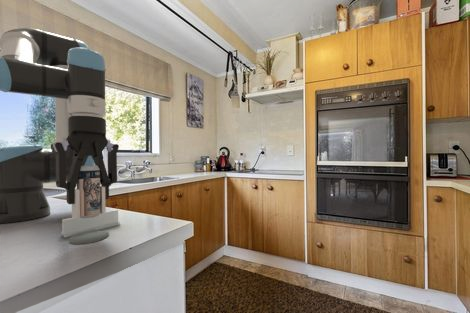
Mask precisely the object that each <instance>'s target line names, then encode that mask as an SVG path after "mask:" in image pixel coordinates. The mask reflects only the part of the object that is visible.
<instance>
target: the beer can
mask: <svg viewBox="0 0 470 313" xmlns="http://www.w3.org/2000/svg"><path fill="white" fill-rule="evenodd" d="M100 186H101V184H100V169H99V167H98V165H95V164H94V165H91V166H81V169H80V173H79V176H78V180H77V184H76V189H79V190H80V218H92V217H96V216H98V215H99V214H100V213H101V200H100Z"/></svg>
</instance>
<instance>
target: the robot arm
mask: <svg viewBox="0 0 470 313" xmlns="http://www.w3.org/2000/svg"><path fill="white" fill-rule="evenodd" d="M106 71H107V69H106V65H105V58H104V56H103V55H102V54H101V53H100V52H98V51H96V50H94V49H91V48H89V46H88V44H86V43H85V42H84V41H81V40H78V39H75V38H70V37H66V36H64V35H63V36H62V35H59V34H55V33H51V32H48V31H44V30H40V29H36V28H31V27H29V28H28V27H21V28H20V27H19V28H14V29H10V30H8V31H5V32H3V34H2V35H1V36H0V91H1V92H2V93H12V94H13V93H15V94H23V95H30V96H40V97H48V98H54V105H55V106H54V111H55V113H54V114H55V115H54V116H55V140H54V141H52V142H51V143H50V148H44V146H43V145H42V144H26V145H17V146H16V145H15V146H7V147H1V148H0V224H6V223H7V224H9V223H17V222H24V221H29V220H34V219H38V218H43V217H46V216H48V215H51V206H50V204H49V202H48V198H47V196H46V195H45V193H44V192H45V191H44V184H51V183H55V187H57V188H62V189H65V191H66V203H67V205H71V218H75V219H79V218H80V190H79V189H77V180H78V176H79V173H80V169H81V166H91V165H98V167H99V169H100V200H101V214H106V211H107V209H106V202H107V201H106V200H108V199H110V187H111V186H112V184H116V183H117V182H118V162H117V160H118V156H117V154H118V150H119V147H120V145H119V144H118V143H115V144H114V143H112V142H109V141H108V139H107V138H108V137H107V121H106V119H105V117H106V116H107V114H106V111H107V110H106ZM105 148H106V151H107V168H106V165H105V161H104V155H103V151H104V149H105Z"/></svg>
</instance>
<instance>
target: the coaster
mask: <svg viewBox="0 0 470 313" xmlns="http://www.w3.org/2000/svg"><path fill="white" fill-rule="evenodd" d="M108 237H109V232H108V231H107V230H95V231H90V232H85V233H81V234H77V235H74V236H70V237H69V238H68V243H70V244H71V245H72V244H73V245H85V244H92V243H95V242H98V241H103V240H105V239H106V238H108Z"/></svg>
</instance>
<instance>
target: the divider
mask: <svg viewBox="0 0 470 313" xmlns="http://www.w3.org/2000/svg"><path fill="white" fill-rule="evenodd" d="M119 225H121V223H120V222H119V210H118V209H112V210H106V214H101V213H100V214H99V215H98V216H96V217H92V218H79V219H75V218H72V217H68V218H63V219H62V220H61V229H62V232H60V235H61V236H62V237H63V238H68V237H69V238H71V237H72V236H75V235H77V234H81V233H85V232H90V231H100V230H103V229H107V228H111V227H116V226H119Z"/></svg>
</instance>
